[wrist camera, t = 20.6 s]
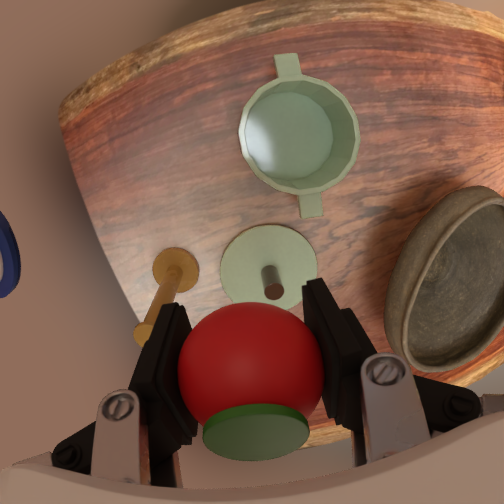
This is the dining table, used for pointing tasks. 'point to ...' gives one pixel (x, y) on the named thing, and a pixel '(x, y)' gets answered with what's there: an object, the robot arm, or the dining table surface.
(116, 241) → the dining table surface
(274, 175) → the pot
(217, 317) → the tomato
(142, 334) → the stand
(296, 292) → the lid
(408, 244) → the bowl
